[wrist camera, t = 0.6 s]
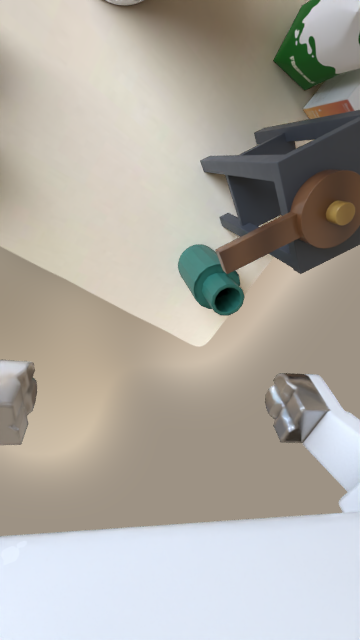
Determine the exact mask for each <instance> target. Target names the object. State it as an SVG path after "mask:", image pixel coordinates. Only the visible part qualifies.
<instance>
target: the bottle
mask: <svg viewBox="0 0 360 640" xmlns="http://www.w3.org/2000/svg"><path fill="white" fill-rule="evenodd" d="M178 269H179V272H180V275H181V277H182V278H183V280H184V281H185V283H186V285H187V286H188V288H189V290H190V291H191V293H192V294H193V296H194V298H195V299H196V301H197V302H198V303H199V304H200V305H201V306H203V307H206V308H208V309H213V310H214V312H216V313H218V314H219V315H231V314H233V313H235V312H236V311H238V309H239V308H240V307H241V306H242V304H243V300H244V294H243V291H242V289H241V288H240V287H239V286H240V280H239V275H238V274H237V272H236V271H233V272H231V273H229V274H226V273H225V272H224V271H223V269H222V266H221V263H220V261H219V258H218V255H217V253H216V252H214V251H213V250H212V249H211V248H209V247H208V246H205V245H193V246H191V247H189V248H187V249H186V250H185V251H184V252H183V253H182V255H181V256H180V259H179V263H178Z"/></svg>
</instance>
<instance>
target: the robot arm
mask: <svg viewBox="0 0 360 640" xmlns="http://www.w3.org/2000/svg"><path fill="white" fill-rule="evenodd" d="M105 1H107V2H110V3H113V4H117V5H133V4H137V3H140V2H142V1H144V0H105ZM34 372H35V369H34V363H33V362H27V361H14V360H0V445H21V444H22V441H23V438H24V435H25V432H26V429H27V426H28V420H27V415H28V414H29V413H31V412H32V411H33V408H34V405H35V401H36V395H37V382H36V380H35V379H34V378H33V374H34ZM273 381H274V384H275V385H274V386H272V387H270V388H269V389H268V392H267V393H266V397H265V404H266V409H267V411H268V414H269V415H270V416H271V417H273V419H275V421H274V425H273V426H274V428H275V430H276V433H277V435H278V437H279V439H280V442H286V443H303V445H304V446H305V447H306V448H307V449H308V451H309V452H310V453H311V454H312V455H313V456H314V457H315V458H316V459H317V460H318V461H319V462H320V463H321V464H322V465H323V466H324V467H325V468H326V469H327V471H328V472H329V473H330V474H331V475H332V476H333V477H334V478H335V479H336V480H337V481H338V482H339V483H340V484H341V485H342V486H343V487H344V488H345V489H346V490H347V492H348V493H347V494H345V495H344V496H343V497H342V498H341V499H340V501H339V505H340V507H341V509H342V512H343V513H335V514H318V515H303V516H289V517H274V518H260V519H246V520H230V521H216V522H202V523H188V524H172V525H157V526H145V527H144V526H143V527H129V528H114V529H100V530H85V531H70V532H57V533H42V534H27V535H13V536H0V640H360V420H359V419H358V418H357V417H355V416H354V415H352V414H351V413H350V412H345V411H344V410H343V408H342V407H341V405H340V404H339V403H338V401H337V399H336V398H335V397H334V395H333V393H332V392H331V391H330V389H329V388H328V386H327V385H326V383H325V382H324V380H323V379H322V378H321V377H320V376H319V375H311V374H287V373H286V374H285V373H279V374H278V375H276V377H275V378H274V380H273Z"/></svg>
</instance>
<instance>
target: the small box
mask: <svg viewBox="0 0 360 640" xmlns="http://www.w3.org/2000/svg"><path fill="white" fill-rule="evenodd" d="M356 110H360V68H359V69H356V70H353V71H350V72H347V73H345V74H342V75H339V76H336V77H333V78H331V79H328V80H326V81H325V82H324V83H323V85H322V86H321V87H320V88H319V90H318V91H317V92H316V93H315V94H314V96H313V97H312V98H311V99H310V101H309V102H308V103H307V104H306V106H305V107H304V108H303V111H304V112H305V113H306V115H307V116H308V117H309V119H314V118H319V117H324V116H330V115H335V114H340V113H345V112H351V111H356Z"/></svg>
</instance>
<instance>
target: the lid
mask: <svg viewBox="0 0 360 640" xmlns="http://www.w3.org/2000/svg"><path fill="white" fill-rule="evenodd" d="M359 226H360V175H359V174H357V173H356V172H353V171H349V170H332V169H330V170H324V171H321V172H319V173H316V174H315V175H313V176H312V177H310V178H309V179H308V180H307V181H306V182H305V183H304V184H303V185H302V186H301V187H300V189H299V190H298V192H297V194H296V195H295V198H294V200H293V203H292V206H291V210H290V212H289V213H287V214H285V215H283V216H281V217H279V218H277V219H275V220H273V221H271V222H269V223H267V224H265V225H263V226H261V227H259V228H257V229H255V230H253V231H251V232H249V233H247V234H245V235H243V236H241V237H239V238H237V239H235V240H233V241H231V242H230V243H228V244H226V245H224V246H222V247H220V248H218V249H216V253H217V255H218V258H219V261H220V263H221V266H222V269H223V271H224V272H225V273H226V274H229V273H231V272H233V271H235V270H237V269H239V268H241V267H243V266H245V265H247V264H249V263H251V262H253V261H255V260H257V259H259V258H261V257H263V256H265V255H267V254H269V253H271V252H273V251H275V250H277V249H279V248H281V247H283V246H285V245H287V244H289V243H291V242H293V241H295V240H297V239H300V240H301V241H303V242H305V243H307V244H310V245H312V246H314V247H317V248H331V247H335V246H337V245H339V244H341V243H343V242H344V241H346V240H347V239H348V238H349V237H351V236H352V234H353V233H354V232H355V231H356V230H357V229H358V227H359Z"/></svg>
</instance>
